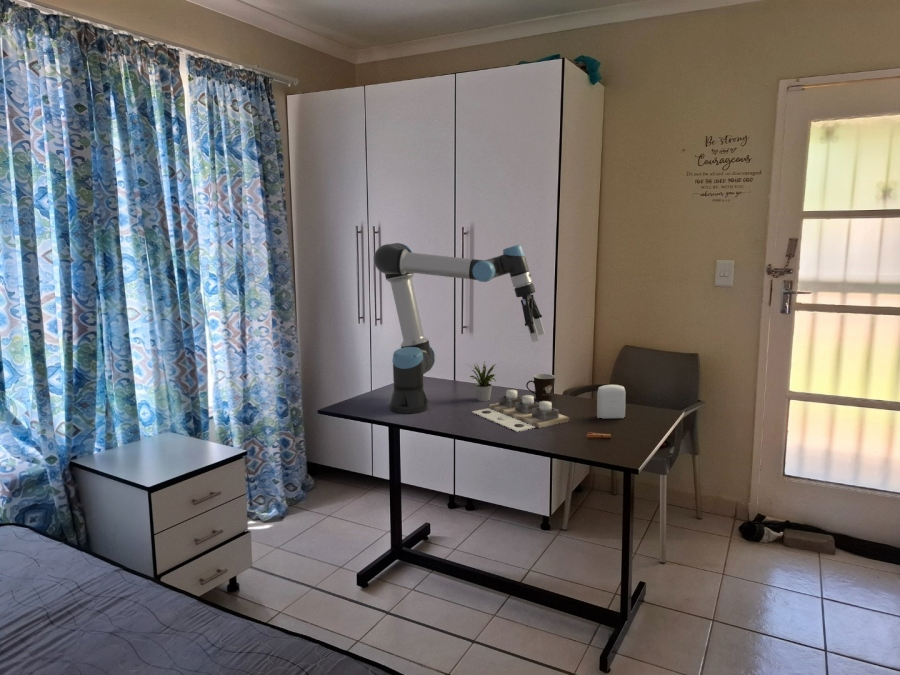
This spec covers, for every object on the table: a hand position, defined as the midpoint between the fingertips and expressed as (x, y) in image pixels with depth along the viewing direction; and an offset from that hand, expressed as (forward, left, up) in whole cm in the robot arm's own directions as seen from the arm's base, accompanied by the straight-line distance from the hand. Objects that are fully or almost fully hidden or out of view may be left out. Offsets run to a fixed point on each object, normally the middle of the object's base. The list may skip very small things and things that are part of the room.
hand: (538, 337), depth 245 cm
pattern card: (+7, -23, -27) cm, 36 cm away
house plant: (-20, -14, -28) cm, 37 cm away
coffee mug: (-6, +6, -28) cm, 29 cm away
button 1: (-3, -11, -24) cm, 26 cm away
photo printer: (+27, +12, -28) cm, 40 cm away
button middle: (+7, -11, -24) cm, 27 cm away
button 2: (+17, -11, -24) cm, 31 cm away
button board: (+7, -11, -27) cm, 30 cm away
